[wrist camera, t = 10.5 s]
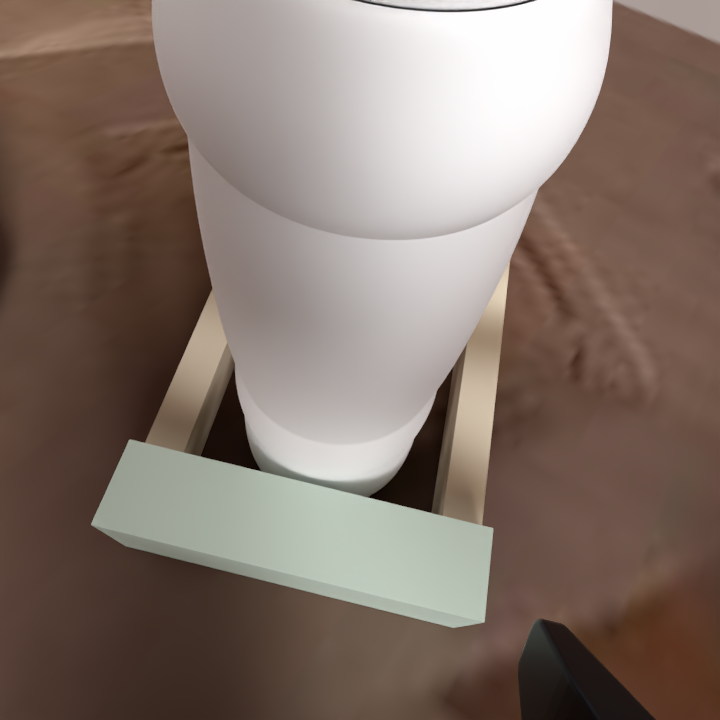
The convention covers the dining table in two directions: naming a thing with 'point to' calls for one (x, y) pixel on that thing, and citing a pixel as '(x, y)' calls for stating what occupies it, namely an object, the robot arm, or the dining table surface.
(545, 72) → the water bottle
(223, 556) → the block
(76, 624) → the dining table surface
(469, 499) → the rails
